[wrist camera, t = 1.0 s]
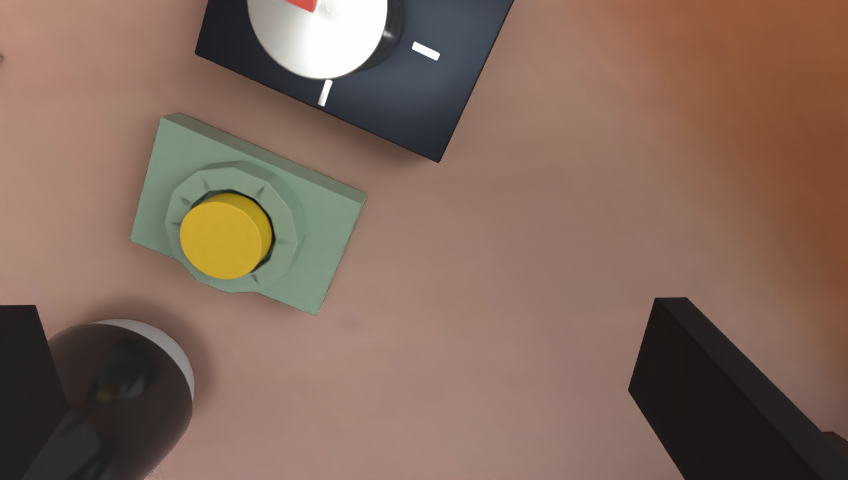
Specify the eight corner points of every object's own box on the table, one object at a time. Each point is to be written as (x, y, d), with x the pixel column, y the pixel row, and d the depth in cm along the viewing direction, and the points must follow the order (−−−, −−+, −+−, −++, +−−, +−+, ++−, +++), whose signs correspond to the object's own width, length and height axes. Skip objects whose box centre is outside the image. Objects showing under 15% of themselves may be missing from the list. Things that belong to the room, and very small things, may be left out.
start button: (282, 212, 29) (272, 222, 27) (258, 278, 30) (247, 291, 29) (206, 180, 28) (191, 188, 27) (185, 248, 30) (170, 260, 28)
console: (518, -17, 28) (525, -24, 25) (440, 155, 31) (439, 164, 28) (267, -141, 26) (248, -161, 24) (213, 53, 30) (192, 53, 27)
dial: (421, -13, 26) (409, -37, 18) (381, 88, 27) (355, 103, 20) (321, -61, 25) (269, -106, 18) (287, 45, 27) (226, 44, 19)
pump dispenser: (48, 304, 36) (-218, 475, 22) (193, 289, 35) (15, 457, 21) (99, 426, 39) (-101, 642, 25) (232, 414, 38) (103, 633, 24)
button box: (368, 194, 32) (357, 213, 28) (323, 300, 35) (308, 331, 31) (179, 111, 31) (141, 121, 27) (148, 228, 33) (110, 251, 30)
